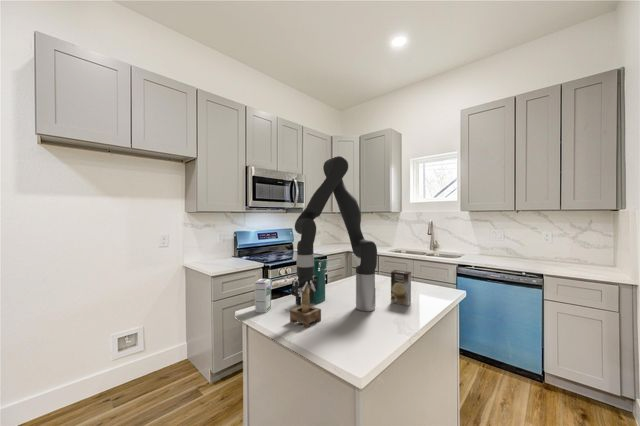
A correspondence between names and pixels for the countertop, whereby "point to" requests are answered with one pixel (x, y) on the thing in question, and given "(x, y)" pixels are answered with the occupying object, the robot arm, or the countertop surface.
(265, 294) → the syrup box
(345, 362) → the countertop surface
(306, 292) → the rod
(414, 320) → the countertop surface
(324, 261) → the teal bottle
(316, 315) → the brown wooden square frame
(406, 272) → the coffee box
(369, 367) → the countertop surface
